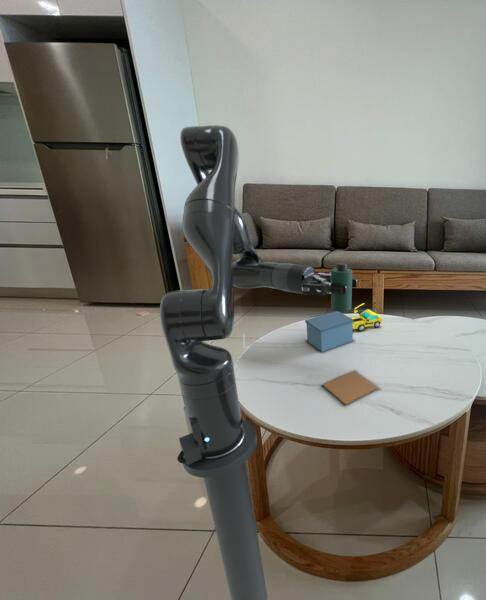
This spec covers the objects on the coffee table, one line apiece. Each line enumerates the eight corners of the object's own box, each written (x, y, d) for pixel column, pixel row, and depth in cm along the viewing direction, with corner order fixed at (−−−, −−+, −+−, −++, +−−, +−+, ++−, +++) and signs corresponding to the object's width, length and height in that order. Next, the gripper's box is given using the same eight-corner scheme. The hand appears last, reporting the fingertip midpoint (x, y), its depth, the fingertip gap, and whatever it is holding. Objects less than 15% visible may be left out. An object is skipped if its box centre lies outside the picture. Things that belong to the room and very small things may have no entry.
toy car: (373, 319, 125) (373, 299, 122) (383, 327, 119) (383, 306, 116) (344, 325, 119) (344, 304, 116) (353, 333, 113) (353, 312, 110)
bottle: (343, 313, 79) (344, 267, 76) (326, 308, 82) (327, 263, 78) (355, 307, 84) (356, 263, 80) (339, 303, 86) (339, 260, 82)
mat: (345, 405, 77) (345, 403, 77) (323, 385, 84) (323, 384, 84) (377, 389, 83) (377, 387, 83) (354, 372, 90) (354, 371, 90)
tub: (321, 352, 100) (320, 330, 97) (306, 341, 107) (304, 319, 104) (354, 340, 108) (353, 319, 105) (337, 331, 115) (337, 310, 112)
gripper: (275, 270, 78) (337, 279, 72) (308, 258, 90) (363, 265, 85) (278, 300, 80) (338, 310, 75) (309, 284, 93) (363, 292, 88)
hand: (351, 286), depth 80 cm, fingers closed on bottle, 5 cm apart
